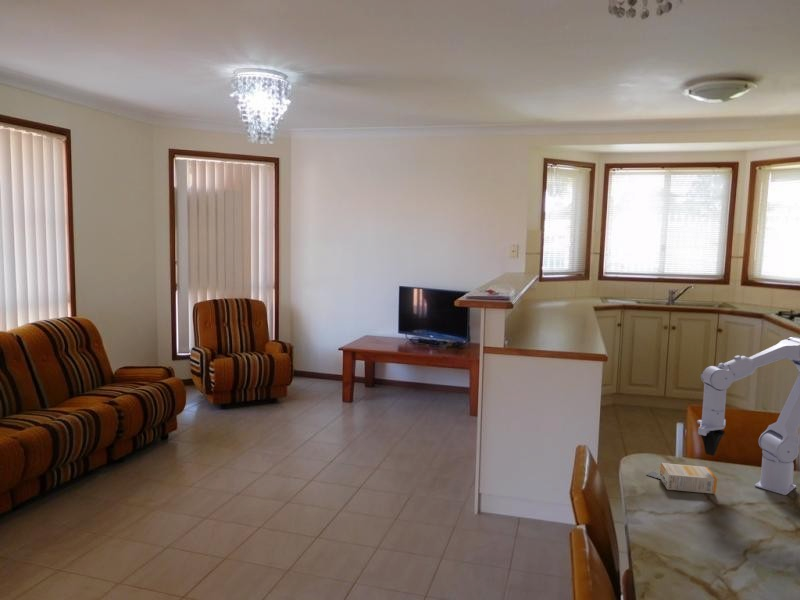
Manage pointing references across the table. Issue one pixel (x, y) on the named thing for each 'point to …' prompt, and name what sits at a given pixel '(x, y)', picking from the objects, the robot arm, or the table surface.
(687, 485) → the supplement box
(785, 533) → the table surface
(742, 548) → the table surface
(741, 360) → the robot arm
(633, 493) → the table surface
